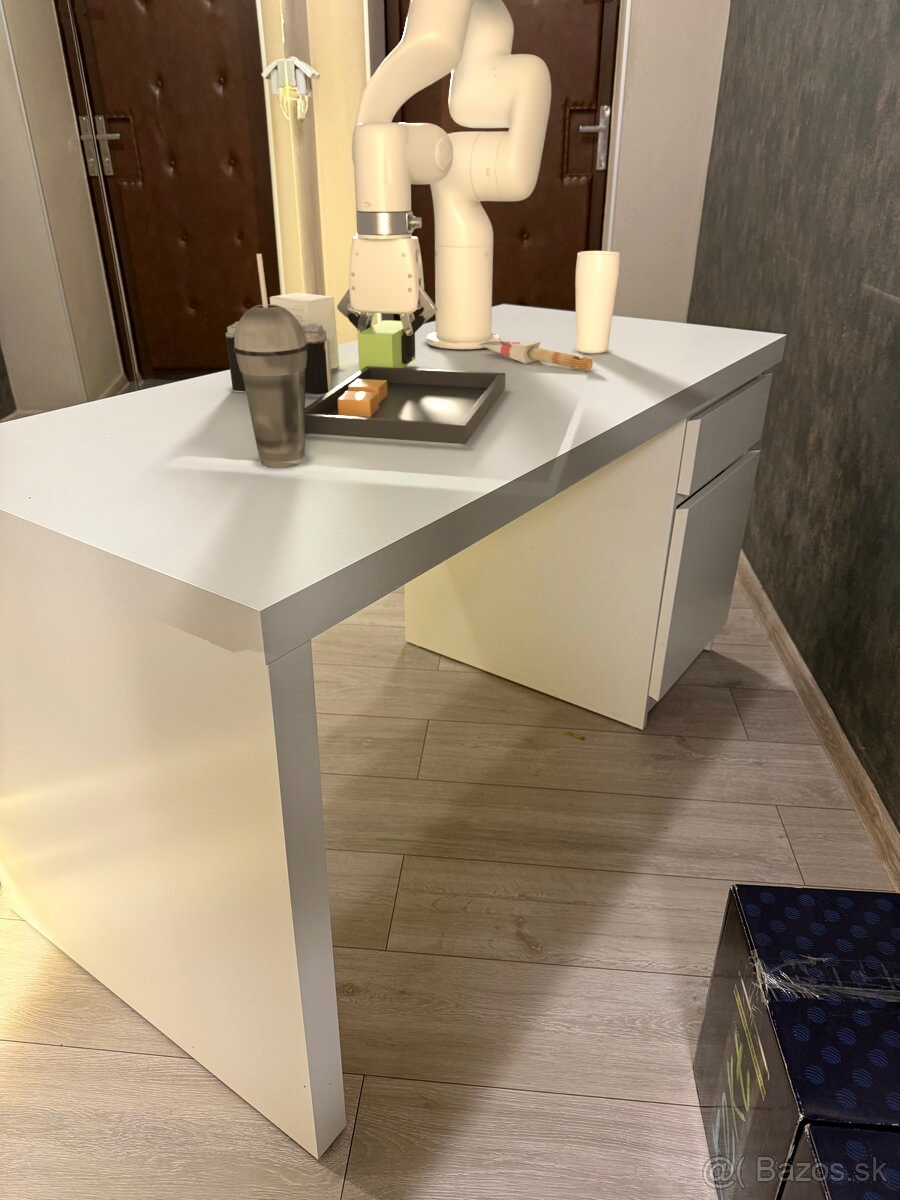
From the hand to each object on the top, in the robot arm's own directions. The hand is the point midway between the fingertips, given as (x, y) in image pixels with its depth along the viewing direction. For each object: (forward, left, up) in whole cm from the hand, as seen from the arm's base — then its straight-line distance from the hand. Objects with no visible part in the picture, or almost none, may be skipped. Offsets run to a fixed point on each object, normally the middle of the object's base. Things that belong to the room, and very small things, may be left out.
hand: (388, 359), depth 122 cm
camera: (+16, -11, -2) cm, 19 cm away
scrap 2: (+24, +3, -1) cm, 24 cm away
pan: (+21, +9, -2) cm, 23 cm away
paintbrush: (-12, +20, -2) cm, 23 cm away
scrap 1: (+17, +3, -1) cm, 18 cm away
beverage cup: (+42, +1, -2) cm, 42 cm away
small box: (+1, -12, -2) cm, 13 cm away
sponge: (0, 0, -1) cm, 1 cm away
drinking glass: (-22, +28, -2) cm, 36 cm away
